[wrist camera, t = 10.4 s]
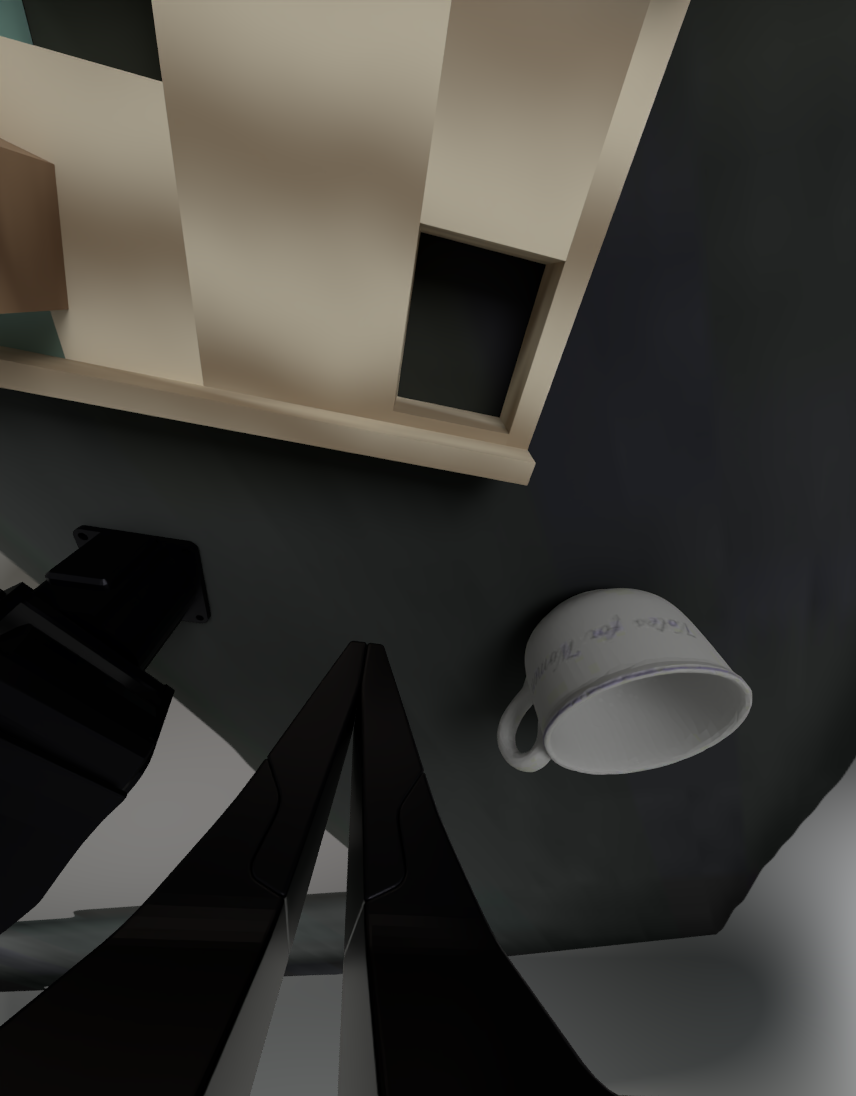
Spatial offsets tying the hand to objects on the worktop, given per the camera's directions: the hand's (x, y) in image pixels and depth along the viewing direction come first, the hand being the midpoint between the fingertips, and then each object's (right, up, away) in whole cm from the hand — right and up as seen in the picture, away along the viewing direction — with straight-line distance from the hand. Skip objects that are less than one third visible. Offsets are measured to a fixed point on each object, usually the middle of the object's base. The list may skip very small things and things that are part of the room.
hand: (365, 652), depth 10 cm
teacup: (+12, -3, +17) cm, 21 cm away
